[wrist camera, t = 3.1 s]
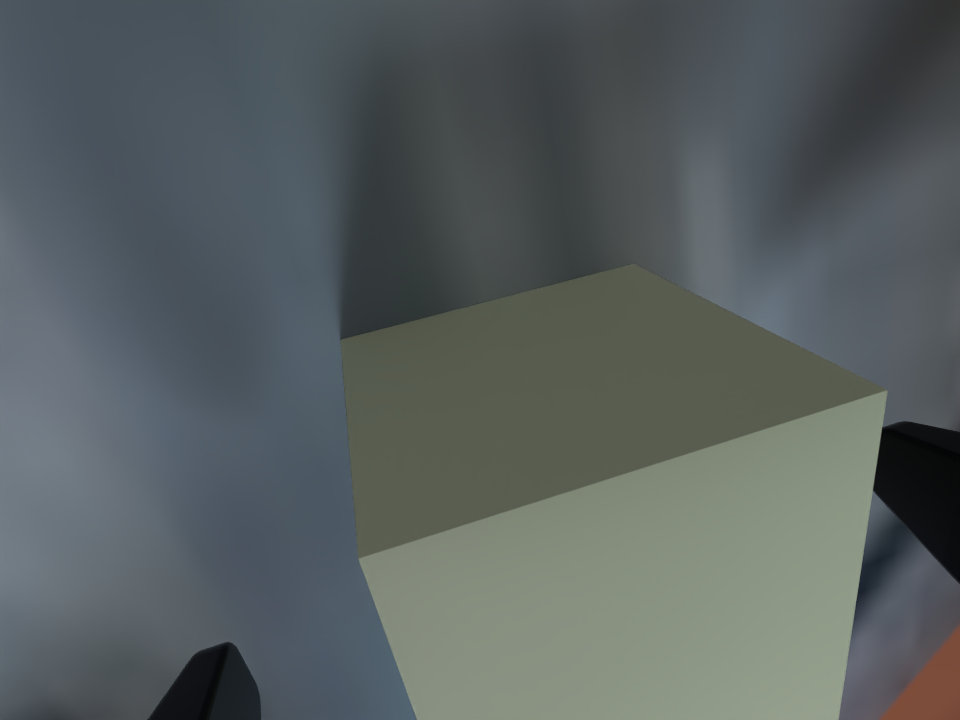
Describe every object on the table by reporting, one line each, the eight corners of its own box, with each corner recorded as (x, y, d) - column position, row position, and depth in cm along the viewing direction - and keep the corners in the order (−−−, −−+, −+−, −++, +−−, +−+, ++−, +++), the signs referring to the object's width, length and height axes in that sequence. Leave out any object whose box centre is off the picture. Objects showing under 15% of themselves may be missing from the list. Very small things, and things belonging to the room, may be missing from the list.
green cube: (646, 493, 12) (837, 720, 8) (412, 569, 11) (472, 871, 7) (631, 262, 10) (887, 390, 5) (340, 338, 9) (358, 557, 5)
